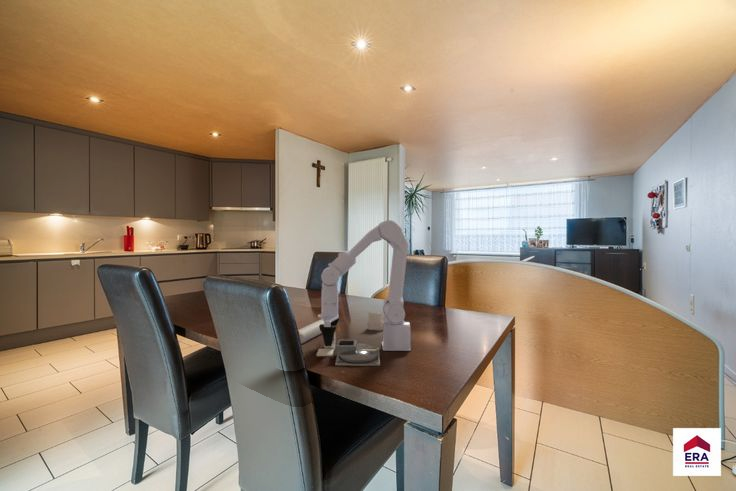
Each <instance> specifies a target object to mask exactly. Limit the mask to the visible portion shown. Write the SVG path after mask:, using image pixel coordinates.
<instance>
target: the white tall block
mask: <svg viewBox="0 0 736 491" xmlns="http://www.w3.org/2000/svg"><path fill="white" fill-rule="evenodd" d="M340 330H341V329H340V326H337V327H336V329H335V331H334V335H333V341H332V345H331V346H325V344H324V346H323V349H334V351H336V333H340ZM320 332H321V330H320Z"/></svg>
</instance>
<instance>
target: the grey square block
mask: <svg viewBox="0 0 736 491" xmlns="http://www.w3.org/2000/svg"><path fill="white" fill-rule="evenodd" d="M382 316H383V315H382V313H378V312H368V320H367V330H370V331H383V329H382V327H383V320H384V319H383V320H382V318H383V317H382Z"/></svg>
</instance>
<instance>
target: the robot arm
mask: <svg viewBox="0 0 736 491" xmlns="http://www.w3.org/2000/svg"><path fill="white" fill-rule="evenodd" d="M382 240H384V241H386V242H387V243H388V244H389V245H390V246H391V247H392V249H393V251H392V259H391V268H390V276H389V277H390V278H389V286H388V293H387V297H386V301H385V303H384V305H383V306H382V307H383V308H382V310H383V311H382V312H383V313H384V314H383V315H385V317H384V318H383V323H382V327H383V329H382V332H383V334H382V338H383V339H382V340H383V341H381V346H382V347H381V348H382V351H383V352H386V351H387V352H388V351H391V352H398V351H399V352H401V351H402V352H410V351H411V350H412V349H411V343H412V342H411V340H412V339H411V323H410V321H405V318H406V312H405V308H404V302H405V301H404V298H403V296H404V287H405V276H406V270H407V269H406V266H407V260H408V258H407V257H408V251H409V250H408V248H409V244H408V241H407V239H406V237H405V235H404V232H403V231H402V227H401V226H400V225H399V224H398V223H397V222H395V221H393V220H389V219H388V220H383V221H381V222H380V223H378V225H376V226H375V227H373V228H372V229H371V230H369V231H368V232H367V233H366V234H365V235H363V236H362V238H361V239H360V240H359V241H358V242H357V243H356V244H355V245H354V246H353V247H352V248H350V250H348V251H347V250H344V251H342V252H339V253H338V254H337V255H338V256H337V257H336V258H335V259H334V260H333V261H332V262H329V263H328V264H327V266H328V267H325V268H324V269H323V271H322V272H321V276H320V277H321V281H322V283H321V298H320V299H321V305H320V306H321V311H320V312H321V313H320V314H318V315H317V318H318V319H320V320H321V319H322V320H323V321H324V324H320V325H319V328H320V330H321V332H322V337H323V343H324V344H325V346H331V345H332V341H333V335H334V331H335V329H336V327H337V325H338V323H339V321H340V315H339V288H338V284H339V280H340V277H342V276H344V275H345V274H346V273H347V272H348V271H349V270H350V269H351V268H352V267H353V266H354V265H355V264H356V262H357V259H356V258H357V257H359V255H361V254H362V253H363V252H364V251H365V250H366V249H367V248H368V247H370V246H371V245H372V243H375V242H376V243H377V242H379V241H382Z"/></svg>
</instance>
